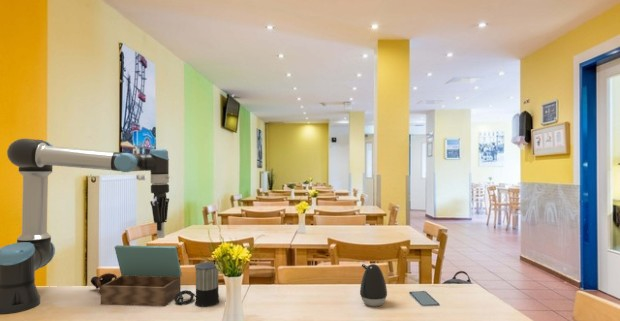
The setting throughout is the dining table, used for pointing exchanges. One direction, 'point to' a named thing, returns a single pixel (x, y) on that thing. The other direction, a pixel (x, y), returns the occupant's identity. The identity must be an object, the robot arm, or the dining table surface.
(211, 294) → the milk frother
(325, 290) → the dining table surface
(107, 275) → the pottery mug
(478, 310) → the dining table surface
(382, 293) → the pump dispenser
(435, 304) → the smartphone
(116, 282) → the storage box
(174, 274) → the lid
